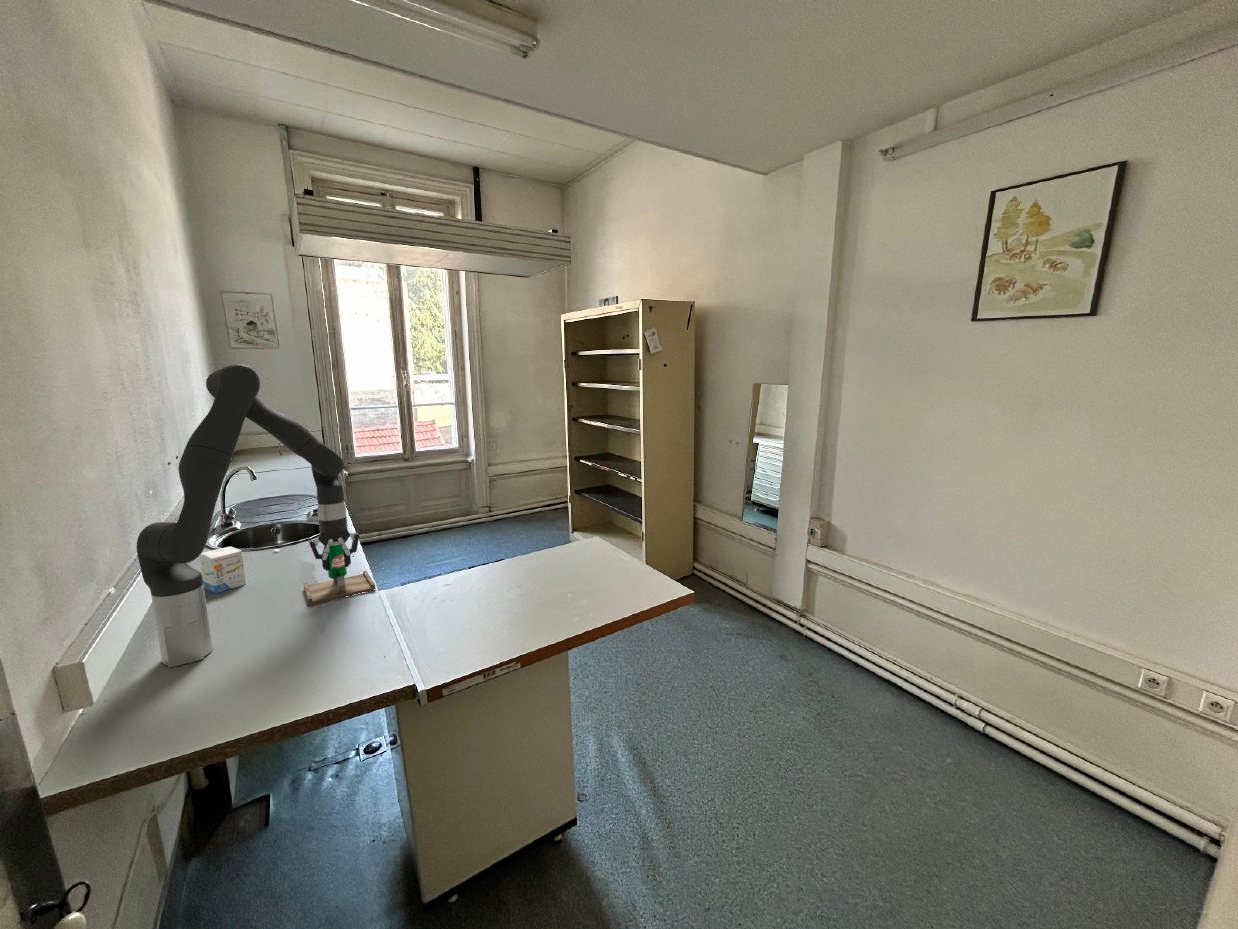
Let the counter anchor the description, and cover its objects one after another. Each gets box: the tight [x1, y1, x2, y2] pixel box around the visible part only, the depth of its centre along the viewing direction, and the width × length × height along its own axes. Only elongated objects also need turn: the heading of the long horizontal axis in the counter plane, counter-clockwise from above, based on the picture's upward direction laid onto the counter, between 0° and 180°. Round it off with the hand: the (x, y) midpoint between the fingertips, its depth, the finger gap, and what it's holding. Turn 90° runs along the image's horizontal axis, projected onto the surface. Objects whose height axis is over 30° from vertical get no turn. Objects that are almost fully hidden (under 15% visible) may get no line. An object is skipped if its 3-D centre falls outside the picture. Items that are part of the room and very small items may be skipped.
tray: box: [303, 570, 376, 607], centre depth 153 cm, size 14×18×6 cm
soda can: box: [327, 541, 348, 580], centre depth 152 cm, size 5×5×12 cm
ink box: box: [199, 546, 247, 594], centre depth 155 cm, size 9×8×12 cm
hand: (337, 567), depth 152 cm, fingers closed on soda can, 5 cm apart
